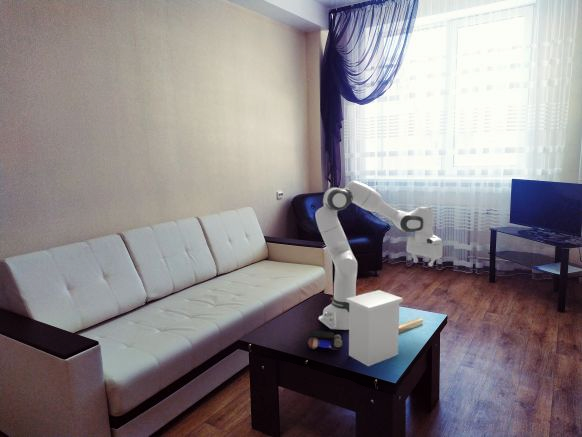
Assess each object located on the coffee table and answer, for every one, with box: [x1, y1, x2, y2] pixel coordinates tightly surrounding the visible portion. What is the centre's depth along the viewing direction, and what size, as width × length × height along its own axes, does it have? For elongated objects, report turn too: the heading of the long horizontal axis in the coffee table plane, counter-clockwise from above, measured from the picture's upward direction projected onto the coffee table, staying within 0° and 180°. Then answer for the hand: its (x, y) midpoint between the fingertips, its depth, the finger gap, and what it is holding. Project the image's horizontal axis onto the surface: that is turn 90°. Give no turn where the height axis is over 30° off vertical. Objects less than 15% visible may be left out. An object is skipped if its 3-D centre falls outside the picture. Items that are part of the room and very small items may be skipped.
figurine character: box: [307, 330, 343, 351], centre depth 193 cm, size 7×8×15 cm
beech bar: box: [399, 317, 424, 334], centre depth 212 cm, size 3×26×3 cm, turn 126°
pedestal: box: [346, 289, 404, 367], centre depth 184 cm, size 14×20×26 cm
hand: (423, 264), depth 218 cm, fingers open, 8 cm apart
